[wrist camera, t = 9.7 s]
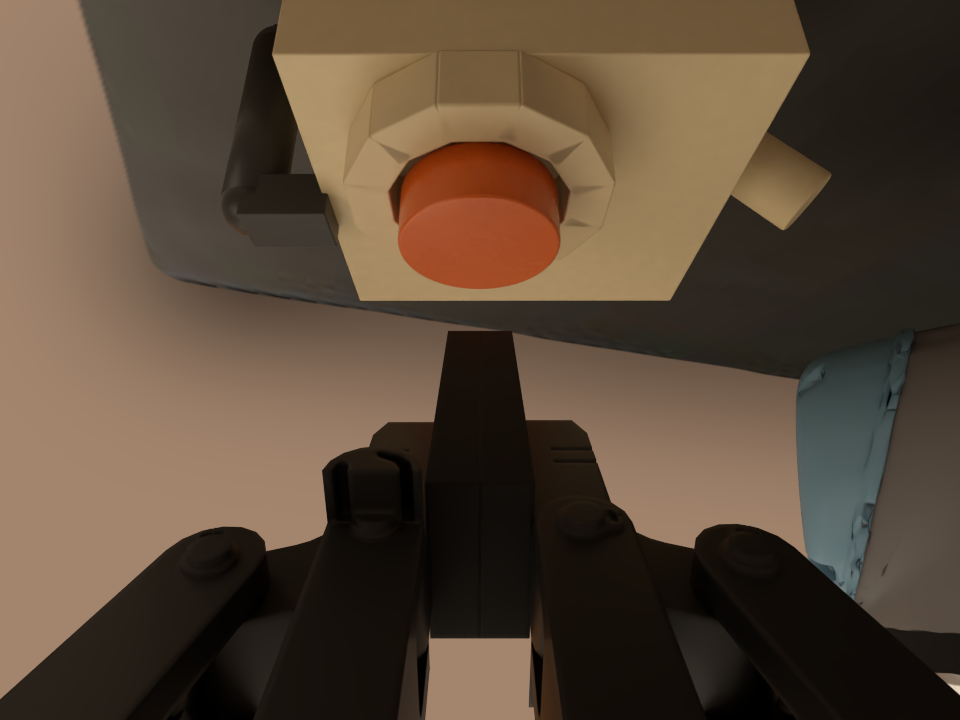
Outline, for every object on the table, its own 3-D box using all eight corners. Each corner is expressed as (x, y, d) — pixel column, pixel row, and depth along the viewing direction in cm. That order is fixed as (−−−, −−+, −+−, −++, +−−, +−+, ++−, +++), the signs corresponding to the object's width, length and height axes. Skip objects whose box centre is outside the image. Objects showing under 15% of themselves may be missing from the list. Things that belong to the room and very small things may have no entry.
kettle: (740, -188, 19) (832, 104, 14) (643, 117, 30) (675, 339, 25) (315, -188, 19) (258, 104, 14) (376, 117, 30) (356, 339, 25)
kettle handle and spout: (867, -206, 18) (993, 56, 14) (714, 127, 30) (754, 324, 26) (194, -206, 18) (102, 56, 14) (307, 127, 30) (278, 324, 26)
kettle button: (567, 139, 15) (571, 196, 15) (549, 242, 19) (551, 290, 19) (391, 140, 15) (386, 196, 15) (409, 242, 19) (406, 290, 19)
